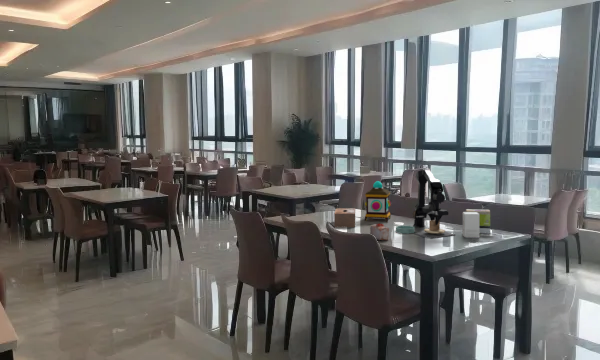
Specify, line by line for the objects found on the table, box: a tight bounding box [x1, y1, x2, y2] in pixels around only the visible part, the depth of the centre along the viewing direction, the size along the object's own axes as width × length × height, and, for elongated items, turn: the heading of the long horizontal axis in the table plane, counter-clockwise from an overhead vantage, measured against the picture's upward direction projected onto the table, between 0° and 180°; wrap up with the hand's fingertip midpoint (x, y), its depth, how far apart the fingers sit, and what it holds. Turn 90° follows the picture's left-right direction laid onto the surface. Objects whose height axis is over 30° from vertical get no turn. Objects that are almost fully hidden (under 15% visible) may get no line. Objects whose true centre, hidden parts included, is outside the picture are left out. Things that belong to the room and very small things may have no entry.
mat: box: [413, 231, 456, 239], centre depth 311 cm, size 20×16×1 cm
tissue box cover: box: [333, 207, 356, 228], centre depth 355 cm, size 26×14×10 cm, turn 173°
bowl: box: [395, 225, 416, 234], centre depth 323 cm, size 12×12×3 cm
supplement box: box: [462, 211, 480, 239], centre depth 304 cm, size 9×9×15 cm
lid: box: [423, 219, 446, 233], centre depth 311 cm, size 13×13×7 cm
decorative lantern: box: [364, 180, 392, 223], centre depth 370 cm, size 20×20×30 cm
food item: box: [369, 223, 390, 241], centre depth 300 cm, size 14×8×10 cm, turn 23°
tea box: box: [465, 208, 491, 235], centre depth 317 cm, size 15×10×15 cm
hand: (434, 224), depth 310 cm, fingers closed on lid, 3 cm apart
